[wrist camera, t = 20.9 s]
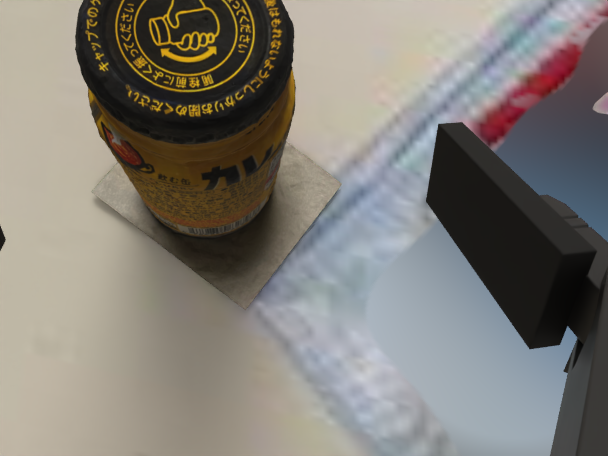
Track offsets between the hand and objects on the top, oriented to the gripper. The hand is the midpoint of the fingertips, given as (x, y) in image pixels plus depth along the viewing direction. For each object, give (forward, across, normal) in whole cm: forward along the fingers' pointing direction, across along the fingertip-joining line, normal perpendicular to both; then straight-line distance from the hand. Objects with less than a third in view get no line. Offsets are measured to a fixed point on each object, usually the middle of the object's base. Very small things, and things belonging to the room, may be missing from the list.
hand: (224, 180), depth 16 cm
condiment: (+8, 0, -5) cm, 9 cm away
